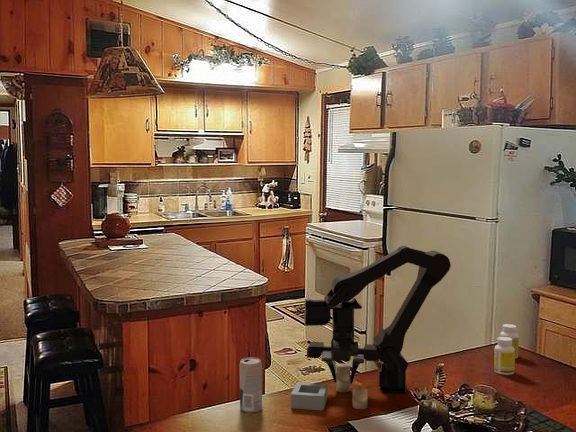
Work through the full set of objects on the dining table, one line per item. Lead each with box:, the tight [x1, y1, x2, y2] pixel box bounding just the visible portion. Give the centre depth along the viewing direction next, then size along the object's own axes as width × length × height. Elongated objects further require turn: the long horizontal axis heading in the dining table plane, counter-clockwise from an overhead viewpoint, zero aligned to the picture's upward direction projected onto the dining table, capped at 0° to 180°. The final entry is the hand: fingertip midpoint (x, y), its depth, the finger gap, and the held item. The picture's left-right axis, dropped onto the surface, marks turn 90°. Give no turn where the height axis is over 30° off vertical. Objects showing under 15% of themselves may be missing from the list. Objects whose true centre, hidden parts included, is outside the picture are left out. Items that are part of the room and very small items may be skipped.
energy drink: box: [238, 356, 263, 414], centre depth 138 cm, size 5×5×12 cm
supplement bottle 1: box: [499, 323, 520, 359], centre depth 176 cm, size 5×5×10 cm
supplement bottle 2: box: [493, 336, 516, 376], centre depth 162 cm, size 5×5×10 cm
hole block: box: [290, 382, 328, 411], centre depth 141 cm, size 8×8×4 cm
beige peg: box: [336, 363, 351, 393], centre depth 150 cm, size 4×4×6 cm
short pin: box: [352, 387, 368, 410], centre depth 139 cm, size 4×4×4 cm
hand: (343, 383), depth 150 cm, fingers open, 4 cm apart
